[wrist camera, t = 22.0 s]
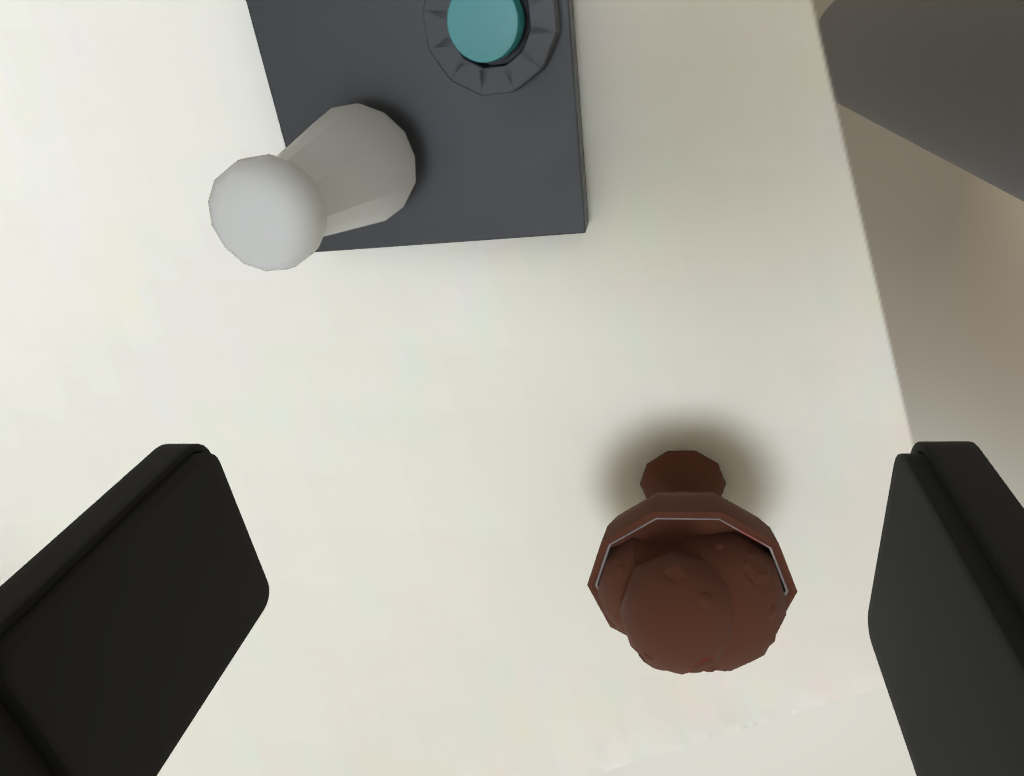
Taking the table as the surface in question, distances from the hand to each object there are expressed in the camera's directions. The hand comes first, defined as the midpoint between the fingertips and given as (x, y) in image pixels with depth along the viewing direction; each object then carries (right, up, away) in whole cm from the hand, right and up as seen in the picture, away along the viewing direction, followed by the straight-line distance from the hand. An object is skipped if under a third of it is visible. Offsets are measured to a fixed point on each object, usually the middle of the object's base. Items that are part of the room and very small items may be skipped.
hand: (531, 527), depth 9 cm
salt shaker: (-8, +14, +27) cm, 31 cm away
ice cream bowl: (+11, -4, +36) cm, 38 cm away
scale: (-5, +17, +27) cm, 32 cm away
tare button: (-1, +19, +21) cm, 29 cm away
